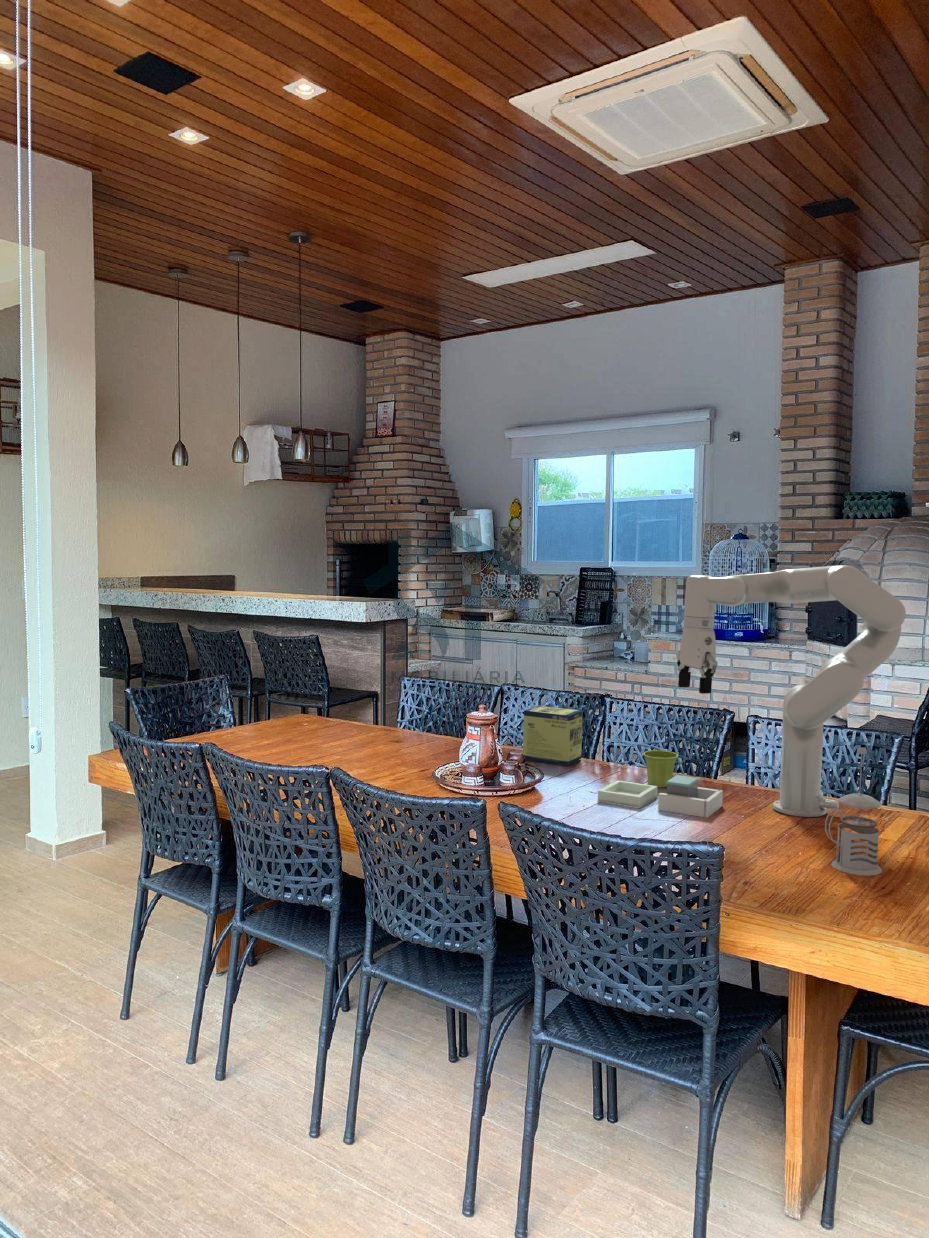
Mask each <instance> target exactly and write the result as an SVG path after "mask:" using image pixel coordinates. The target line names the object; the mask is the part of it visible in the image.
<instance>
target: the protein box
mask: <svg viewBox="0 0 929 1238" xmlns="http://www.w3.org/2000/svg"><path fill="white" fill-rule="evenodd" d="M522 733H523V736H522V737H523V738H522V756H523V755H524V757H525V760H524V761H528V762H535V763H536V762H537V763H543V764H549V765H554V766H555V765H556V766H557V765H558V766H561V767H569V766H571V765H573V764H576V763H577V761H578V760H579V759H581V760H582V741H583V739H582V737H583V710H581V709H570V708H562V707H561V708H560V707H552V706H546V705H545V706H543V705H538V706H535V707H534V706H533V707H532V708H528V709H524V710H523V731H522ZM578 762H579V761H578Z"/></svg>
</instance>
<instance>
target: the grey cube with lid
mask: <svg viewBox="0 0 929 1238" xmlns="http://www.w3.org/2000/svg"><path fill="white" fill-rule="evenodd" d="M698 787H699V778H698V777H694V776H685V775H679V774H676V775H674V776H672V779H670V780H668V781H667V786H666V791H665V792H666V794H673V795H679V796H686V797H692V798H697V794H698Z"/></svg>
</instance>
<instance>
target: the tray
mask: <svg viewBox="0 0 929 1238" xmlns="http://www.w3.org/2000/svg"><path fill="white" fill-rule="evenodd" d="M657 797H658V787H657V786H653V785H649V784H644V783H637V782H631V781H625V780H617V779H616V780H614V782H611V783H610V784H608V785H606V786H604V787H602V788H600V789H598V790H597V802H598V801H599V803H604V802H605V803H604V804H610V805H616V804H620V805H619V806H623V805H625V806H624V807H629V808H636V809H640V808H642V807H644V806H645V805H647V804H648V803H650V802H651V801H652V800H654V799H656V798H657Z"/></svg>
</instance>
